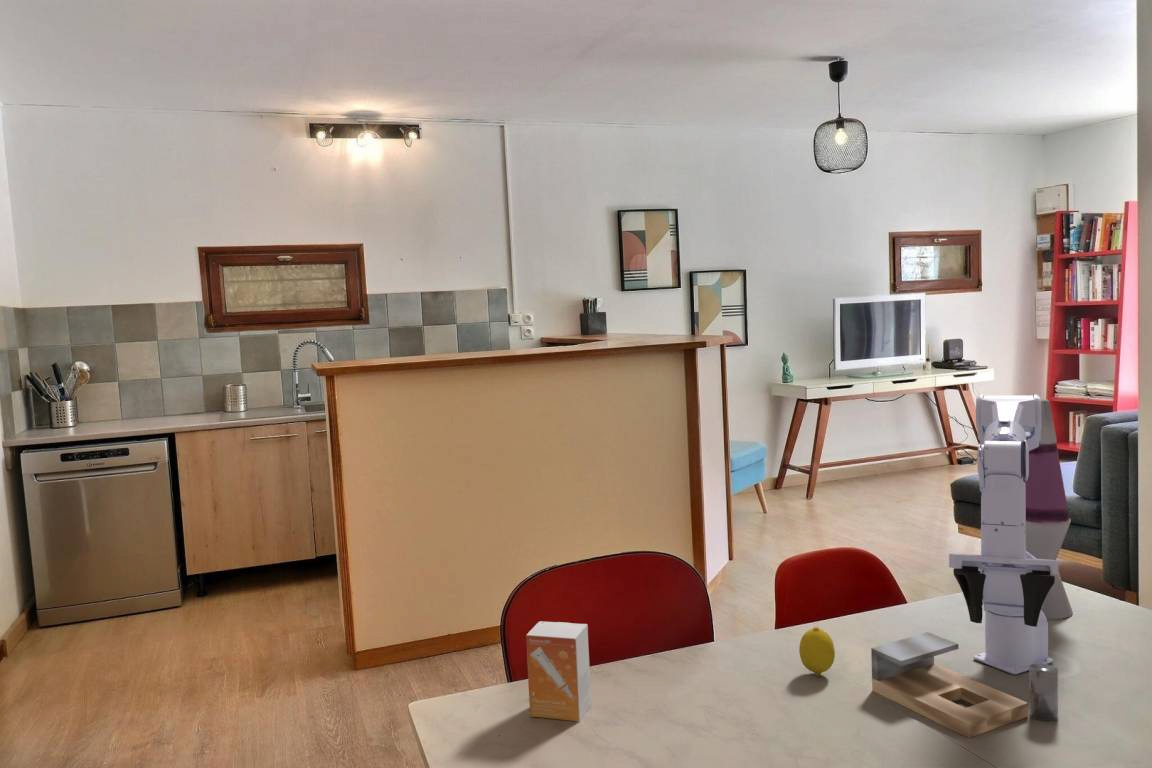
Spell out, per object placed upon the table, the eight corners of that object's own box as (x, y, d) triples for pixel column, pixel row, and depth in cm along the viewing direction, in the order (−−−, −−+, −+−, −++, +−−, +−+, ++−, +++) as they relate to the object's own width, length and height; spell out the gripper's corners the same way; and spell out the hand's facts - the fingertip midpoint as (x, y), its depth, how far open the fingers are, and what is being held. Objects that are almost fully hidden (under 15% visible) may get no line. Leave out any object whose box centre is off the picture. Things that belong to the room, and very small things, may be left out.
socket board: (928, 673, 144) (927, 632, 144) (1028, 716, 128) (1027, 670, 128) (872, 690, 139) (871, 648, 139) (969, 738, 123) (968, 690, 123)
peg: (1040, 708, 131) (1040, 661, 130) (1063, 717, 128) (1063, 670, 127) (1024, 714, 129) (1023, 667, 129) (1046, 723, 126) (1046, 675, 125)
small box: (529, 717, 136) (524, 634, 135) (543, 699, 142) (538, 619, 141) (580, 722, 134) (575, 638, 133) (592, 704, 140) (588, 622, 139)
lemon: (836, 682, 143) (835, 634, 142) (800, 681, 144) (799, 633, 143) (833, 668, 148) (832, 621, 147) (799, 667, 149) (797, 620, 149)
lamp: (1001, 600, 176) (999, 397, 172) (1060, 600, 174) (1059, 395, 170) (1018, 619, 165) (1016, 404, 162) (1082, 620, 163) (1081, 402, 160)
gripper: (964, 523, 123) (964, 624, 121) (1070, 529, 123) (1071, 631, 121) (942, 521, 130) (942, 618, 128) (1042, 527, 130) (1043, 624, 128)
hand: (1003, 624), depth 125 cm, fingers open, 7 cm apart
